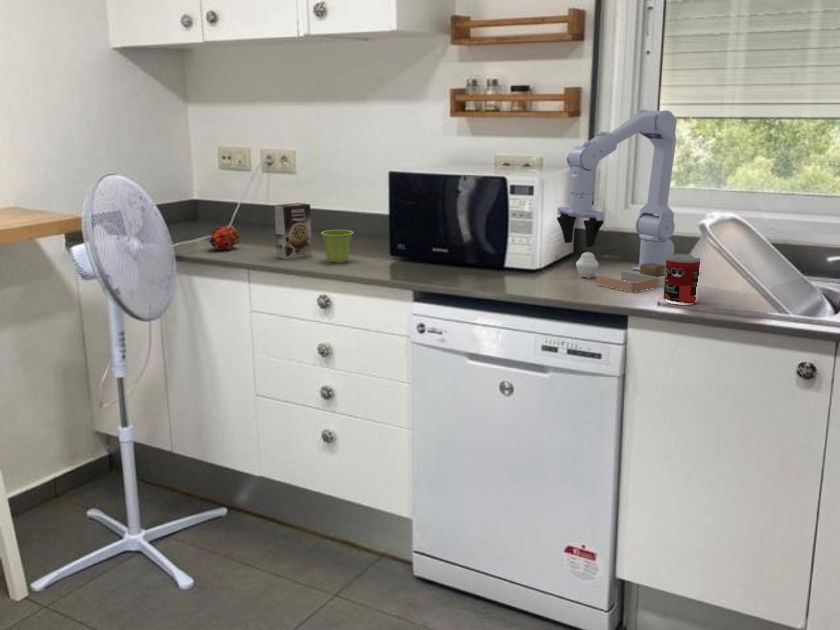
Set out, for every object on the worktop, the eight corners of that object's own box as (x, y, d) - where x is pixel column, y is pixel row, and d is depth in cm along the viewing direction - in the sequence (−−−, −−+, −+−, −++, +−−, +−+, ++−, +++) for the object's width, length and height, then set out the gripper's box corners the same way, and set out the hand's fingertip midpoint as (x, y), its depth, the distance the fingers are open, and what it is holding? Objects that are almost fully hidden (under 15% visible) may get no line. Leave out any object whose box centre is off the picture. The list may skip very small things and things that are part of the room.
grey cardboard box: (286, 260, 255) (284, 206, 251) (276, 257, 260) (273, 204, 256) (312, 256, 261) (310, 204, 257) (301, 253, 266) (299, 202, 262)
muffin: (593, 280, 227) (594, 254, 225) (571, 278, 230) (573, 252, 228) (601, 276, 232) (602, 251, 230) (580, 273, 235) (581, 249, 233)
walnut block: (650, 279, 229) (651, 262, 228) (663, 281, 225) (665, 265, 224) (639, 281, 226) (640, 264, 225) (653, 284, 223) (654, 267, 222)
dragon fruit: (241, 251, 278) (215, 263, 268) (223, 235, 279) (197, 246, 270) (249, 232, 273) (224, 243, 263) (231, 216, 274) (205, 226, 265)
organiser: (646, 274, 234) (646, 265, 233) (682, 282, 224) (683, 273, 224) (596, 284, 222) (596, 275, 221) (632, 293, 212) (633, 283, 212)
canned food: (658, 298, 207) (661, 254, 204) (690, 297, 207) (694, 253, 205) (669, 306, 199) (673, 260, 197) (702, 305, 200) (706, 259, 197)
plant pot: (358, 262, 252) (358, 233, 250) (329, 265, 248) (328, 235, 245) (346, 257, 260) (345, 228, 258) (317, 259, 256) (316, 231, 253)
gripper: (550, 191, 225) (548, 242, 228) (592, 196, 214) (589, 250, 217) (568, 189, 229) (566, 239, 232) (610, 194, 218) (607, 247, 221)
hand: (578, 244), depth 225 cm, fingers open, 7 cm apart
